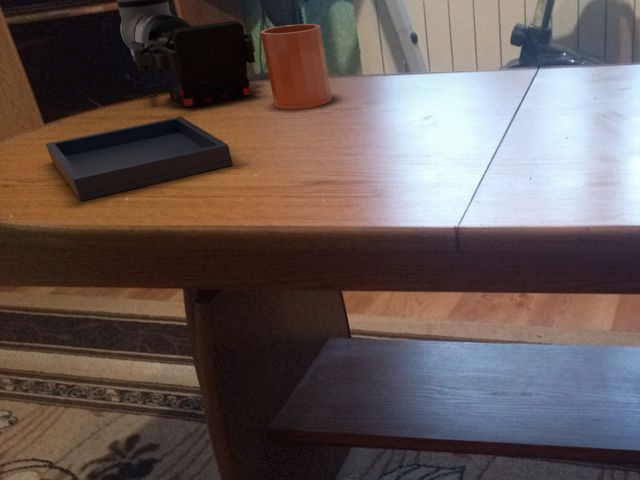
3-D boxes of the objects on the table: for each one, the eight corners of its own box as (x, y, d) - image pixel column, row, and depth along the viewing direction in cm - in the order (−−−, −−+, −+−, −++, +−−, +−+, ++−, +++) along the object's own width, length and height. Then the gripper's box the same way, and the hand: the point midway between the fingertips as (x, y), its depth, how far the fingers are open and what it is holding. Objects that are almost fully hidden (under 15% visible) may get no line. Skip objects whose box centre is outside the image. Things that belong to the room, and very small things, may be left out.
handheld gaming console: (232, 86, 109) (216, 12, 104) (261, 99, 100) (244, 19, 95) (168, 97, 105) (148, 22, 100) (192, 112, 96) (171, 30, 91)
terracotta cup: (266, 103, 98) (251, 30, 93) (317, 93, 101) (305, 22, 96) (288, 112, 92) (273, 36, 88) (341, 101, 96) (329, 27, 91)
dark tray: (52, 162, 80) (45, 143, 79) (185, 134, 86) (181, 116, 85) (81, 201, 68) (73, 179, 67) (233, 165, 74) (228, 144, 73)
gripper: (241, 55, 118) (297, 73, 102) (101, 79, 109) (138, 103, 92) (231, 4, 114) (287, 14, 98) (84, 24, 105) (119, 39, 88)
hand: (214, 57), depth 95 cm, fingers closed on handheld gaming console, 9 cm apart
